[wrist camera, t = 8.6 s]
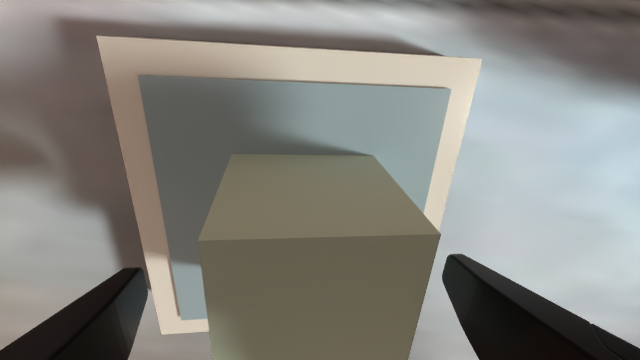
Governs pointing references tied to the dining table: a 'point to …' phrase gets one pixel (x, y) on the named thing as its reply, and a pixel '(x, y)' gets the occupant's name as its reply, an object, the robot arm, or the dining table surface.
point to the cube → (313, 260)
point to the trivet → (268, 133)
